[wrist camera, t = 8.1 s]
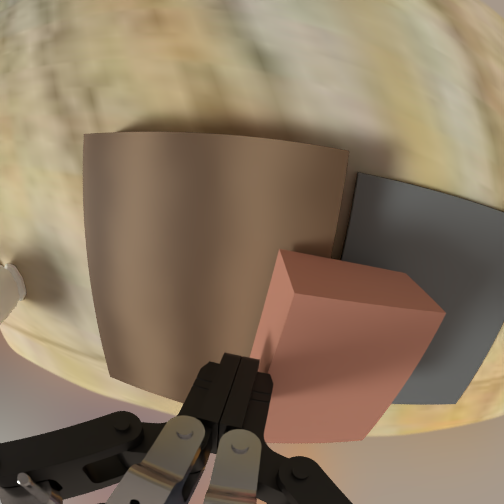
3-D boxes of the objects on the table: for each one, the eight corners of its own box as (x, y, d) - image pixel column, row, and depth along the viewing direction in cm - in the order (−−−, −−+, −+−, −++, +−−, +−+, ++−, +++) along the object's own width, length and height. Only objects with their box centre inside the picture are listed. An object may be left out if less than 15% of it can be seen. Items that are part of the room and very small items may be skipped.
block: (240, 387, 16) (242, 441, 13) (279, 248, 13) (294, 293, 9) (345, 393, 17) (362, 440, 13) (405, 273, 14) (446, 313, 10)
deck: (127, 355, 23) (110, 376, 20) (114, 133, 16) (84, 133, 14) (288, 397, 21) (284, 426, 18) (342, 150, 14) (349, 150, 12)
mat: (303, 391, 20) (303, 395, 20) (357, 172, 15) (358, 172, 14) (454, 400, 18) (455, 403, 18) (534, 224, 13) (537, 225, 12)
